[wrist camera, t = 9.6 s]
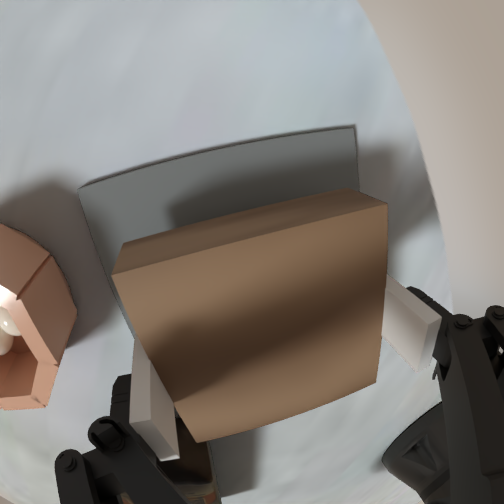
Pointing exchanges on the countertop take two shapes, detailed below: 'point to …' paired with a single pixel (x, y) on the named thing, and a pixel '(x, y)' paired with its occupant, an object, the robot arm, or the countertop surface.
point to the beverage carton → (190, 469)
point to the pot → (31, 321)
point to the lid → (261, 308)
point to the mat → (214, 188)
